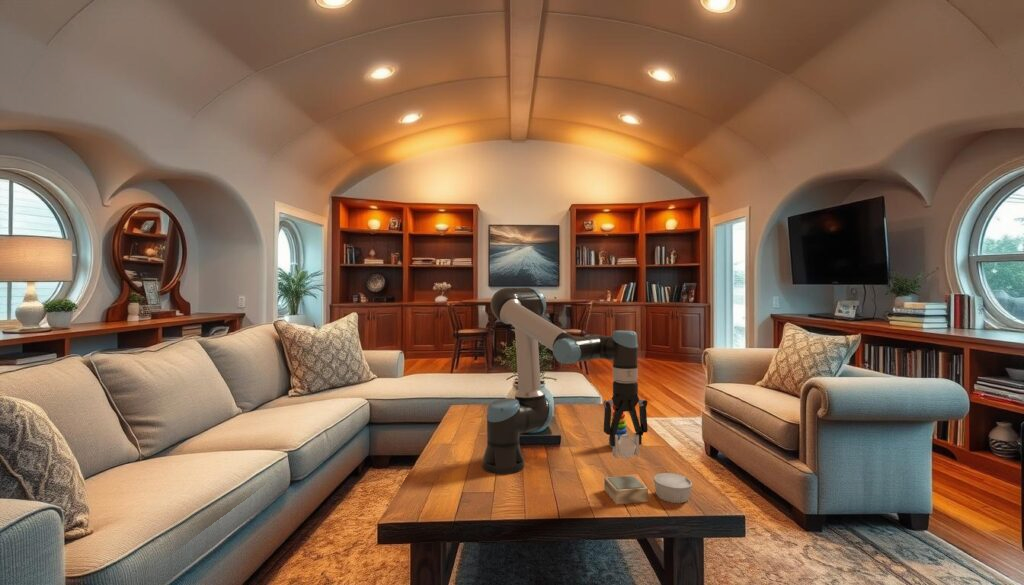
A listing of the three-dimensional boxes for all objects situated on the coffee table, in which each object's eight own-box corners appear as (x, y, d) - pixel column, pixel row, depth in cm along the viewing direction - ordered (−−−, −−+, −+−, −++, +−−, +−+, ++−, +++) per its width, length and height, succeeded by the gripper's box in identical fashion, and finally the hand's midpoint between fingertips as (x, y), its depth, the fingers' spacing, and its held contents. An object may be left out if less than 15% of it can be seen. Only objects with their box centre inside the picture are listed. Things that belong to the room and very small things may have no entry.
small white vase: (622, 452, 147) (622, 430, 147) (640, 456, 143) (639, 434, 143) (612, 457, 143) (611, 434, 143) (629, 462, 139) (629, 438, 139)
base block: (616, 504, 138) (616, 490, 138) (604, 489, 148) (604, 476, 148) (648, 501, 139) (647, 487, 139) (634, 487, 149) (634, 474, 149)
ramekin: (695, 506, 136) (695, 488, 136) (656, 504, 138) (656, 486, 138) (687, 490, 147) (687, 474, 147) (651, 488, 149) (651, 471, 149)
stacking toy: (630, 450, 184) (630, 403, 184) (610, 450, 184) (610, 403, 184) (626, 443, 192) (626, 398, 192) (606, 443, 192) (606, 398, 192)
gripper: (599, 384, 138) (600, 462, 138) (659, 382, 141) (660, 458, 141) (591, 379, 145) (592, 453, 145) (648, 377, 148) (649, 449, 148)
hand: (625, 455), depth 143 cm, fingers closed on small white vase, 6 cm apart
